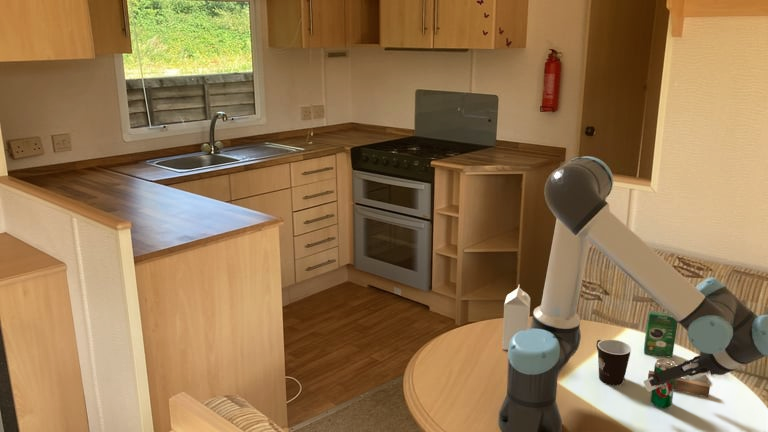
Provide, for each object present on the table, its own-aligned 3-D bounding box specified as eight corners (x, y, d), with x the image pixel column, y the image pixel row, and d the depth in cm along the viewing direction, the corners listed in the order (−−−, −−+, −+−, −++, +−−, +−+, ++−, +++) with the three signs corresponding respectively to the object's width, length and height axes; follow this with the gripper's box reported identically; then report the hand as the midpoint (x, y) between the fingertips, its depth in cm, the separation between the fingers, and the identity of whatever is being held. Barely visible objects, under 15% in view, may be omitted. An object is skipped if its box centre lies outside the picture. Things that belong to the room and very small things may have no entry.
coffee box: (672, 353, 190) (677, 313, 186) (673, 358, 187) (678, 317, 184) (643, 349, 193) (648, 309, 189) (643, 354, 190) (648, 313, 186)
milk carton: (502, 349, 194) (504, 291, 188) (504, 339, 200) (507, 283, 195) (526, 353, 192) (529, 294, 186) (528, 342, 198) (531, 285, 193)
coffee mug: (630, 389, 172) (633, 355, 169) (596, 386, 173) (599, 353, 170) (623, 367, 183) (626, 335, 180) (592, 364, 184) (594, 333, 181)
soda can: (658, 396, 168) (663, 355, 165) (675, 405, 164) (681, 363, 161) (646, 402, 165) (650, 361, 162) (663, 411, 161) (668, 369, 158)
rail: (647, 383, 174) (648, 373, 174) (648, 380, 176) (649, 370, 175) (708, 397, 167) (709, 387, 166) (708, 394, 169) (710, 384, 168)
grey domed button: (674, 382, 175) (675, 379, 174) (677, 369, 181) (678, 366, 181) (707, 389, 171) (707, 387, 171) (709, 376, 177) (709, 373, 177)
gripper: (690, 381, 139) (634, 405, 156) (774, 359, 147) (712, 385, 164) (674, 348, 142) (621, 376, 160) (757, 329, 150) (699, 357, 168)
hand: (668, 380), depth 162 cm, fingers open, 13 cm apart
